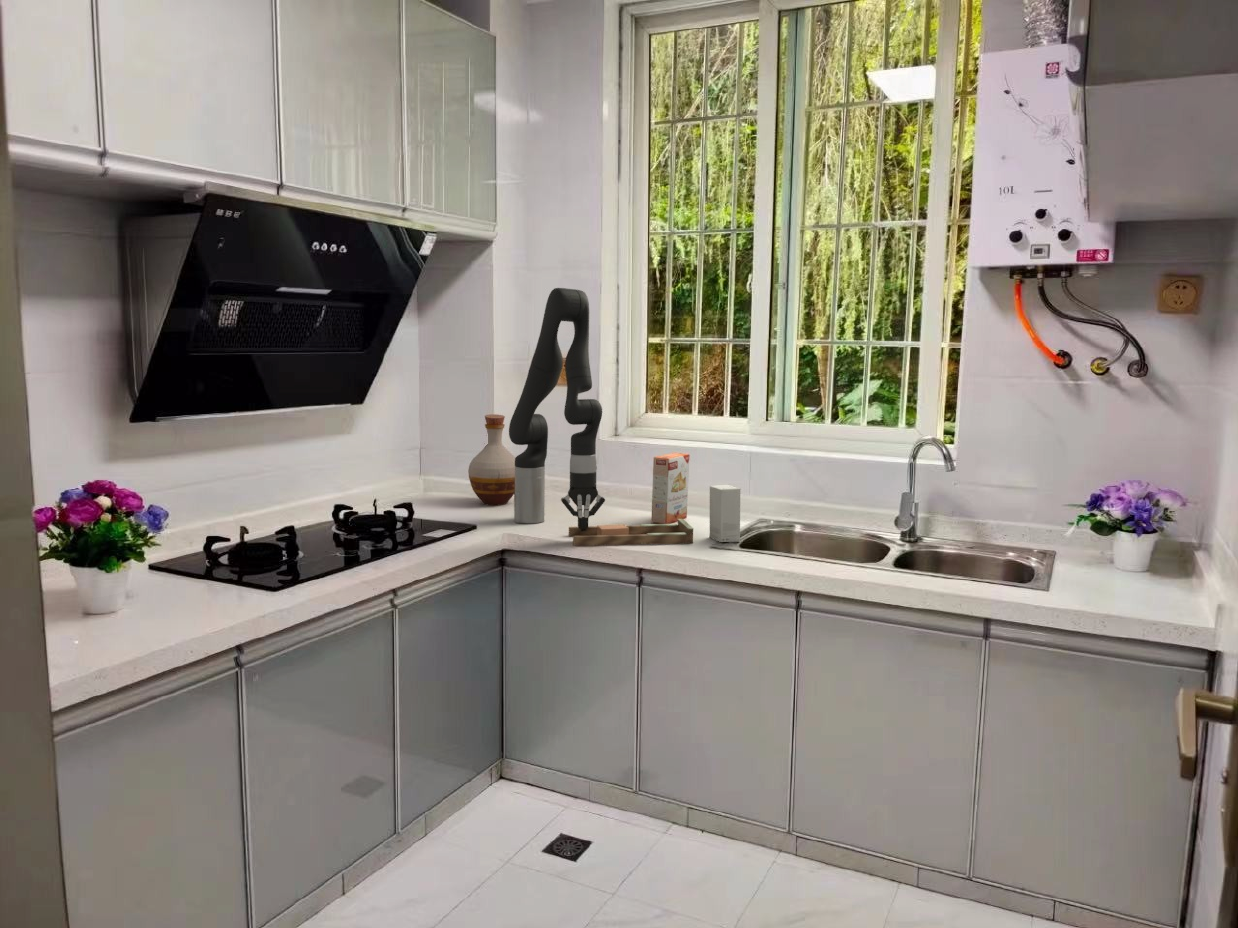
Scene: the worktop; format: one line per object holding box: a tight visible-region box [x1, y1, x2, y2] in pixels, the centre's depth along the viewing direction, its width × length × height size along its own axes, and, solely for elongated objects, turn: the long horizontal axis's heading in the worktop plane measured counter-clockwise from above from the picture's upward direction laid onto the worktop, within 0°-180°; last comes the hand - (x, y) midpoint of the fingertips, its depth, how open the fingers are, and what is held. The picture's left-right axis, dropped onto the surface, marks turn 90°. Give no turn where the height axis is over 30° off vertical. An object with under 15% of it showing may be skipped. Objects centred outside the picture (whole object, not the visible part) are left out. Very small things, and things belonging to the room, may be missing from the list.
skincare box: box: [709, 484, 741, 543], centre depth 267 cm, size 8×7×16 cm
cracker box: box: [650, 452, 690, 524], centre depth 291 cm, size 14×6×21 cm, turn 148°
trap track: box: [568, 518, 694, 547], centre depth 266 cm, size 34×13×4 cm, turn 99°
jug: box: [467, 413, 516, 506], centre depth 314 cm, size 20×18×30 cm
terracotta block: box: [596, 523, 629, 535], centre depth 266 cm, size 8×5×4 cm, turn 106°
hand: (582, 530), depth 264 cm, fingers closed
